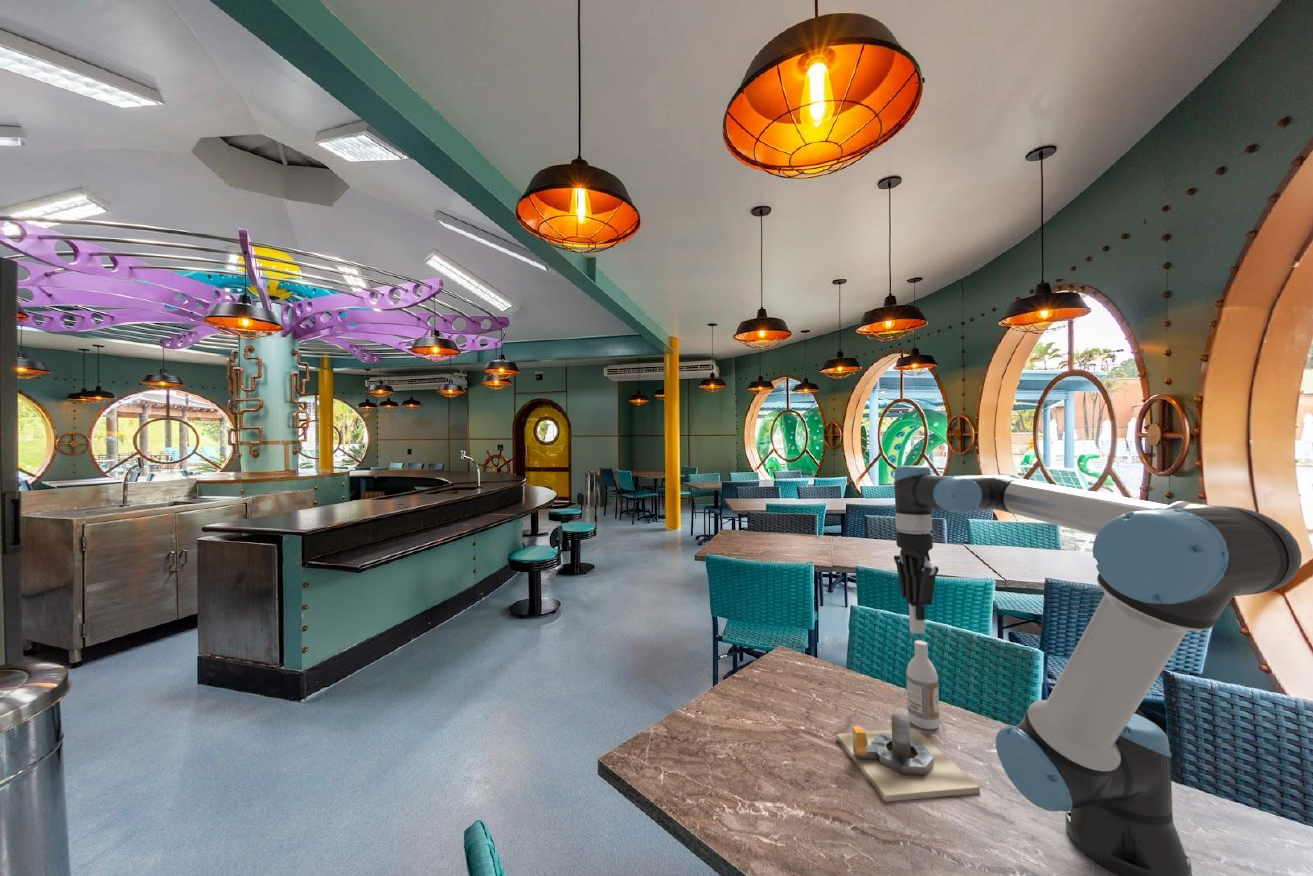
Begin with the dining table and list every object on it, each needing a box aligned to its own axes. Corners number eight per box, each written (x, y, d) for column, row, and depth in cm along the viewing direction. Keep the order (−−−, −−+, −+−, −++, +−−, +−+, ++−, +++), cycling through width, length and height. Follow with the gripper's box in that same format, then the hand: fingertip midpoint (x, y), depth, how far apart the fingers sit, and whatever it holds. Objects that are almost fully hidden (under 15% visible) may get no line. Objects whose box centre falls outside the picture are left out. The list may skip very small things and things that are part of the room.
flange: (915, 741, 107) (915, 717, 107) (941, 775, 96) (940, 748, 96) (846, 739, 108) (846, 715, 108) (864, 772, 97) (863, 745, 97)
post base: (979, 793, 93) (978, 742, 93) (885, 801, 91) (883, 750, 91) (915, 733, 113) (913, 691, 113) (836, 739, 111) (835, 696, 111)
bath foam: (934, 734, 112) (931, 650, 113) (904, 722, 117) (901, 642, 118) (943, 722, 117) (940, 642, 118) (913, 711, 122) (910, 635, 123)
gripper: (948, 535, 103) (952, 642, 102) (911, 526, 116) (914, 621, 115) (917, 536, 102) (920, 644, 102) (882, 527, 115) (885, 622, 115)
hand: (917, 632), depth 108 cm, fingers closed
